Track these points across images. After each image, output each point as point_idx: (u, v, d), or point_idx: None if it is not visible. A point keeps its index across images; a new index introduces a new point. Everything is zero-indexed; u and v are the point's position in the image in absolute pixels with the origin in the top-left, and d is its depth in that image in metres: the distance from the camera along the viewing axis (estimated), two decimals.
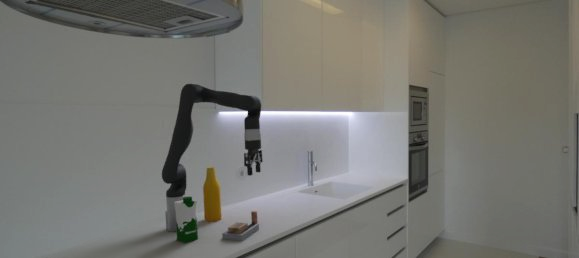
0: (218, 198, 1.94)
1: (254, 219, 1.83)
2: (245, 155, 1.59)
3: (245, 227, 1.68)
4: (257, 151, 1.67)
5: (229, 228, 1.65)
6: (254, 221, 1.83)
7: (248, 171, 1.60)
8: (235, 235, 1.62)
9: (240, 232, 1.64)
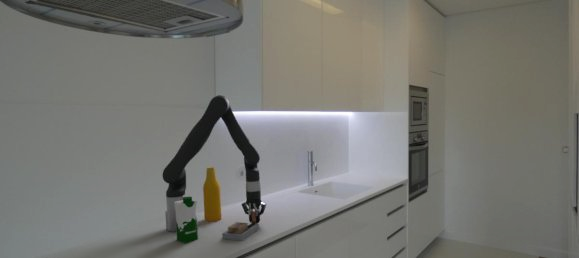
0: (218, 198, 1.94)
1: (254, 219, 1.83)
2: (264, 206, 1.81)
3: (245, 227, 1.68)
4: None
5: (228, 228, 1.66)
6: (254, 221, 1.83)
7: (259, 219, 1.83)
8: (235, 235, 1.62)
9: (240, 232, 1.65)
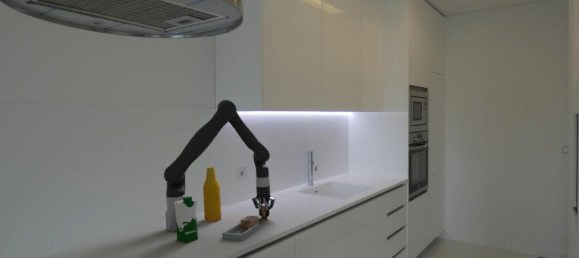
0: (218, 198, 1.94)
1: (264, 213, 1.94)
2: (273, 201, 1.92)
3: (256, 220, 1.79)
4: None
5: (241, 221, 1.76)
6: (264, 215, 1.94)
7: (268, 213, 1.94)
8: (235, 235, 1.62)
9: (252, 225, 1.75)
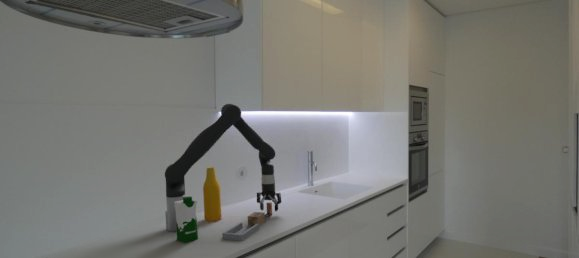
0: (218, 198, 1.94)
1: (269, 209, 2.01)
2: (279, 194, 1.99)
3: (262, 216, 1.86)
4: None
5: (248, 217, 1.83)
6: (269, 211, 2.01)
7: (277, 207, 2.00)
8: (235, 235, 1.62)
9: (259, 221, 1.82)
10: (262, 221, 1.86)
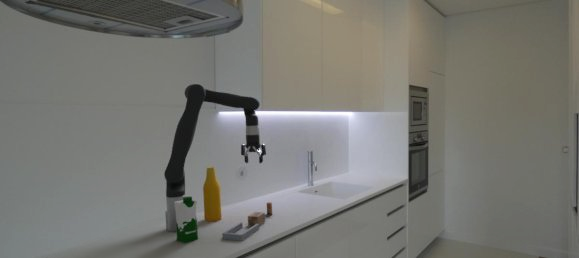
0: (218, 198, 1.94)
1: (269, 209, 2.01)
2: (263, 146, 1.95)
3: (262, 216, 1.86)
4: None
5: (248, 217, 1.83)
6: (269, 211, 2.01)
7: (262, 159, 1.96)
8: (235, 235, 1.62)
9: (259, 220, 1.82)
10: (262, 221, 1.86)
